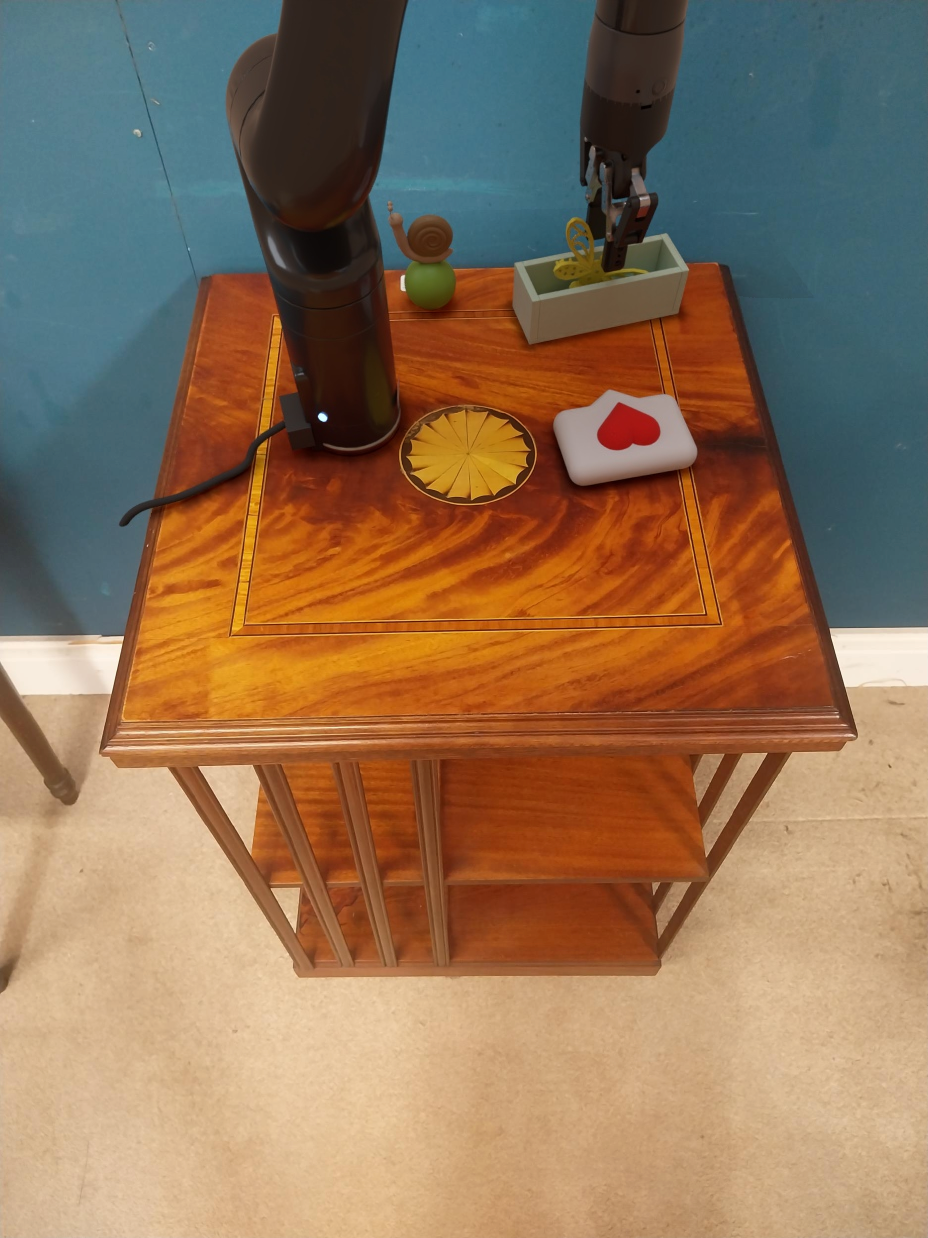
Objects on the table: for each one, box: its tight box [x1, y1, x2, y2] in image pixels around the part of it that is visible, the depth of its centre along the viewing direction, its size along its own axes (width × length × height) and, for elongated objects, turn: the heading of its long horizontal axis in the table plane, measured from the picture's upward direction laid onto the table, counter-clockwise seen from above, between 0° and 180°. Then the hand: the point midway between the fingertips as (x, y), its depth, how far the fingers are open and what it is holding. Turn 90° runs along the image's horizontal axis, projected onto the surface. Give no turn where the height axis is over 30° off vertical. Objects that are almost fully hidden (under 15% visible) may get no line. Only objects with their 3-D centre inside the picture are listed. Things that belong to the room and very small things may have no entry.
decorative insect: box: [553, 216, 649, 290], centre depth 87 cm, size 13×3×10 cm
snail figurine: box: [386, 200, 457, 311], centre depth 86 cm, size 5×6×12 cm
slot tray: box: [512, 233, 690, 345], centre depth 88 cm, size 17×6×6 cm, turn 105°
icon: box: [552, 389, 698, 487], centre depth 80 cm, size 12×4×10 cm
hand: (603, 252), depth 84 cm, fingers open, 4 cm apart
